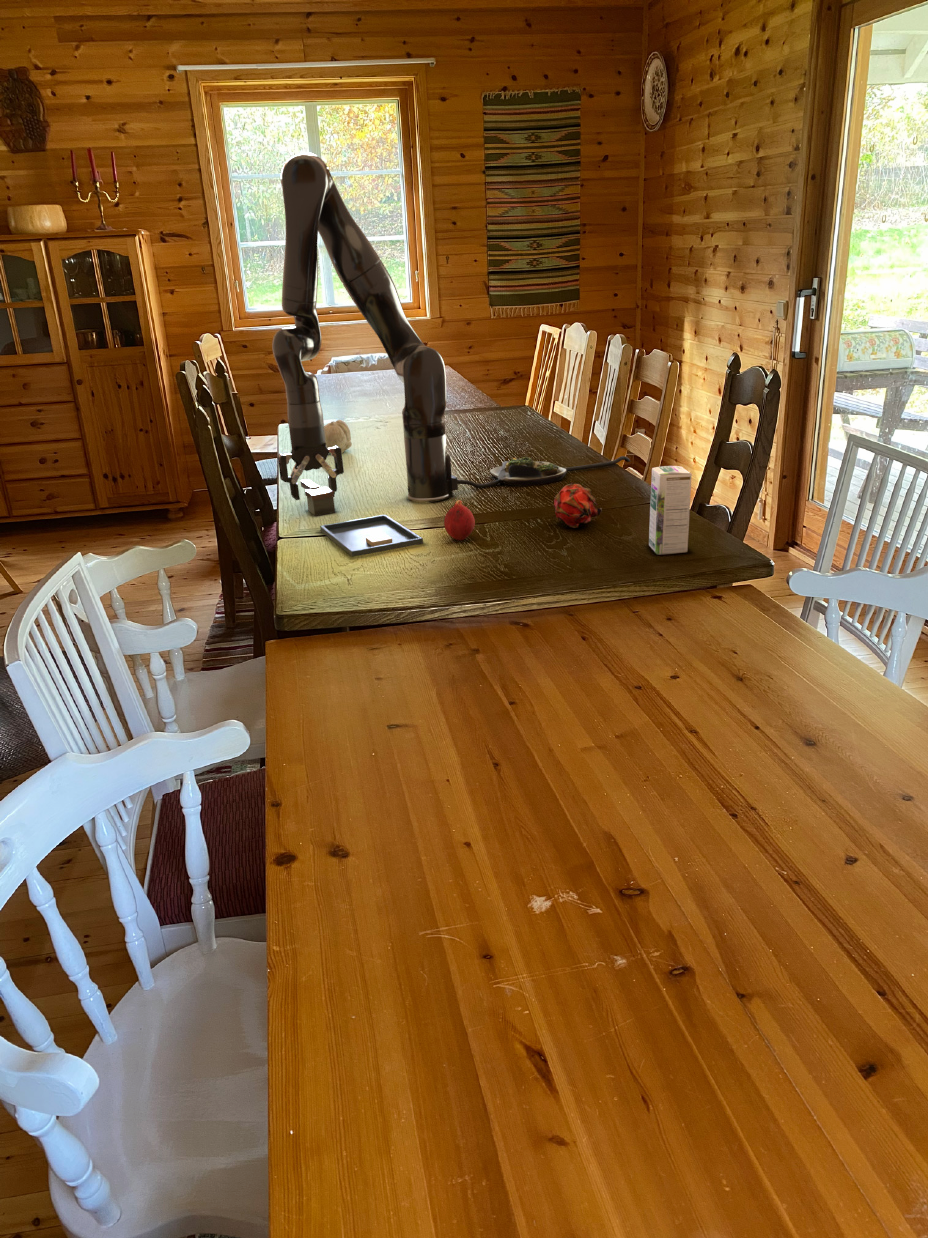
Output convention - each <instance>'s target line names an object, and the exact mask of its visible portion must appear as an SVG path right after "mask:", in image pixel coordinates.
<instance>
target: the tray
mask: <svg viewBox="0 0 928 1238" xmlns="http://www.w3.org/2000/svg"><path fill="white" fill-rule="evenodd" d="M319 529H320V532H321V533H323V534H324V535H325V536H326V537H327V538H328V539H330V540H331V541H332V542H333V543H335V544H336V545H337V546H338V547H340V548H341V549H342V550H343V551H344V552H346V553H347V554H348V555H349V556H350V557H352V558H355V557H359V556H364V555H365V556H366V555H371V554H376V553H381V552H385V551H391V550H392V551H393V550H397V549H403V548H408V547H413V546H417V545H423V544H424V538H423V537H422V536H420V535H418V534H417V533H415V532H414V531H412V530H410V529H409V528H408V527H406V526H405V525H403V524H401V523H399V522H398V521H396V520H395V519H393V518H392V517H390V516H389V515H387V514H380V515H374V516H369V517H363V518H356V519H351V520H344V521H340V522H334V523H328V524H323V525H320V526H319ZM379 534H386V535H388V536H389V537H391V538H392V543H390V544H384V545H379V546H374V547H372V546H371V545H370V544H368V543H367V542H366V537H368V536H374V535H379Z"/></svg>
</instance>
